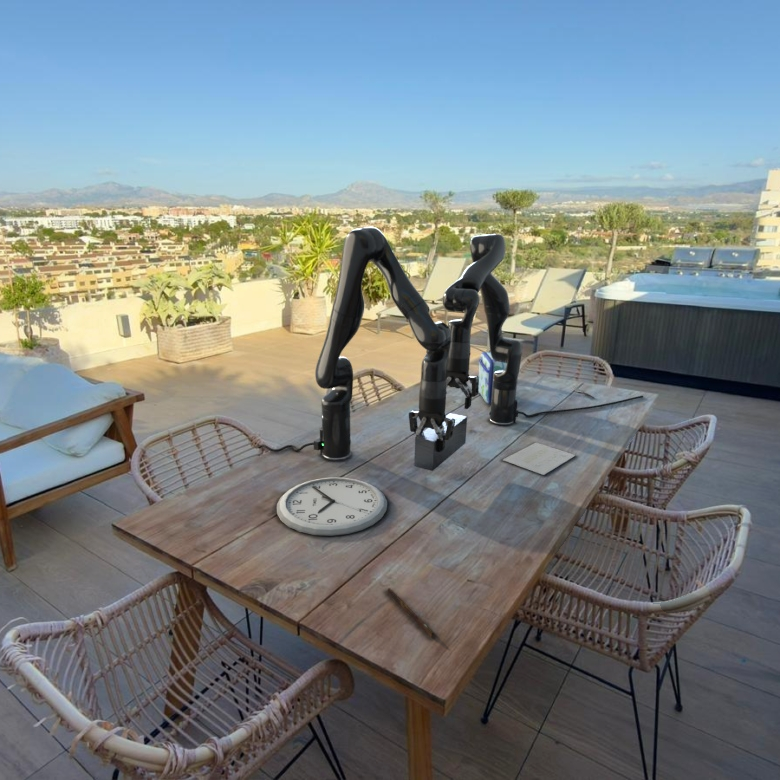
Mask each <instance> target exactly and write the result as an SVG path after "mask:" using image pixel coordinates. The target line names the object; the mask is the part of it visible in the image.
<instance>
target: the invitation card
mask: <svg viewBox="0 0 780 780" xmlns="http://www.w3.org/2000/svg"><path fill="white" fill-rule="evenodd" d="M576 456H577V455H576V454H573V453H570V452H567V451H565V450H561V449H558V448H555V447H552V446H549V445H546V444H543V443H539V442H534V443H532V444H529V445H528V446H526V447H524V448H522V449H520V450H518V451H516V452H514V453H512V454H510V455H509V456H507V457H505V458H503V459H502V461H503V462H506V463H509V464H511V465H514V466H518V467H520V468H523V469H525V470H528V471H531V472H534V473H536V474H539V475H541V476H545V475H547V474H548V473H550V472H552V471H554V469H556V468H558V467H559V466H561V465H563V464H564V463H566V462H568V461H570V460H571V459H572V458H574V457H576Z"/></svg>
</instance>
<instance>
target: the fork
mask: <svg viewBox="0 0 780 780" xmlns="http://www.w3.org/2000/svg"><path fill="white" fill-rule="evenodd" d="M572 387H573V389H574V391H575V392H577V393H582V394H584V395H585V396H588V397H590V398H592V399H595V397H594V396H593V395H591V394H589V393H587V392H585V391H582V390H581V389H580V387H578V385H577V384H575V385H574V384H572Z"/></svg>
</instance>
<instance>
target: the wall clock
mask: <svg viewBox="0 0 780 780" xmlns="http://www.w3.org/2000/svg"><path fill="white" fill-rule="evenodd" d="M387 509H388V500H387V498H386V496H385V494H384V493H383V492H382V491H381V490H380V489H379V488H377V487H376V486H374V485H372V484H371V483H369V482H365V481H362V480H359V479H355V478H349V477H338V476H337V477H335V476H333V477H332V476H331V477H322V478H317V479H312V480H307V481H305V482H302V483H299V484H297V485H295V486H293V487H292V488H290V489H288V490H287V491H286V492H285V493H284V494H283V495H281V496H280V498H279V499H278V502H277V503H276V515H277V517H278V518H279V520H280V521H281V522H282V523H283V524H285V525H286V526H287V527H288V528H290V529H293V530H295V531H297V532H299V533H303V534H308V535H312V536H327V537H328V536H329V537H331V536H332V537H333V536H342V535H350V534H352V533H356V532H361V531H363V530H366V529H368V528H369V527H372V526H373V525H375V524H376V523H378V522H379V521H380V520H381V519H382V518H383V517H384V516H385V514H386V512H387Z"/></svg>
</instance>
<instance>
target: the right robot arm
mask: <svg viewBox="0 0 780 780" xmlns="http://www.w3.org/2000/svg"><path fill="white" fill-rule="evenodd" d="M506 244H507V243H506V239H505V237H504V236H503V235H502V234H500V233H493V234H483V235H482V234H481V235H475V236H473V237H472V238H471V240H470V243H469V252H470V253H469V254H470V257H471V261H472V263H471V264H470V265H468V266H467V268H465V270H464V271H463V273H462V275H461V276H460V277H459V279H457V280H456V281H455V282H453V283H452V284H451V285H450V286H448V287H447V288H446V290H445V292H444V293H443V295H442V305H443V308H444V310H446V311H448V312H451V313H462V314H463V313H464V315H463V317H462V318H460V319H459V318H458V319H453V320H452V319H451V320H450V321H448V322H447V326H448V327H449V329H450V331H451V345H450V350H449V355H448V359H447V364H446V365H447V370H446V389H447V388H448V387H449V388H455V389H460V390H461V392H462V393H463V394H464V395H465V397H464V409H465V410H468V409H469V408H471V406H472V401H473V399H472V398H475V397H476V396H478V395H479V385H478V383H479V375H475V376H473V375H470V361H471V354H472V353H471V335H472V326H473V321H474V318H475V315H476V312H477V310H478V307H479V304H480V296H481V302H482V308H483V312H484V316H485V321H486V326H487V331H488V333H487V334H488V343H489V350H490V352H491V356H492V358H493V359H494V360H495V361H498V362H503V363H507V366H506V369H503V370H497V371H495V372H494V374H493V385H492V398H491V404H490V410H489V415H488V416H489V422H490V423H491V424H494V425H497V426H511V425H513V424H516V423H517V418H518V417H519V415H523V416H524V417H526V418H533V417H535V416H536V417H537V416H539V415H546V414H554V413H564V412H565V413H566V412H573V411H581V410H588V409H595V408H600V407H606V406H607V407H608V406H612V405H617V404H620V403H625V402H628V401H634V400H636V399H638V400H639V399H642V398H644V395H638V396H634V397H629V398H626V399H621V400H617V401H613V402H608V403H603V404H596V405H591V406H581V407H575V408H566V409H558V410H546V411H539V412H535V413H532V414H527V413H525V412H523V411H520V410H518V399H517V388H518V378H519V375H520V369H521V361H522V355H523V344H522V342H521V341H519V340H517V339H513V338H507V337H506V338H505V337H504V335H503V326H504V324H505V322H506V321H507V319H508V316H509V315H510V311H511V305H510V304H511V303H510V299H509V293H508V290H507V289H506V288H505V287H504V285H503V284H502V283H501V282H500V281H499V280H498V279H497V278H496V277H495V276H494V275H493V273H492V272H493V271H494V270H495V269H496V268H497V267H498V266H499V265H500V264H501V263H502V261H503V260H504V258H505V255H506V251H507V245H506ZM479 293H480V294H479ZM468 382H469V383H470V384H471V388H470V384H469V383H468Z"/></svg>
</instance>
